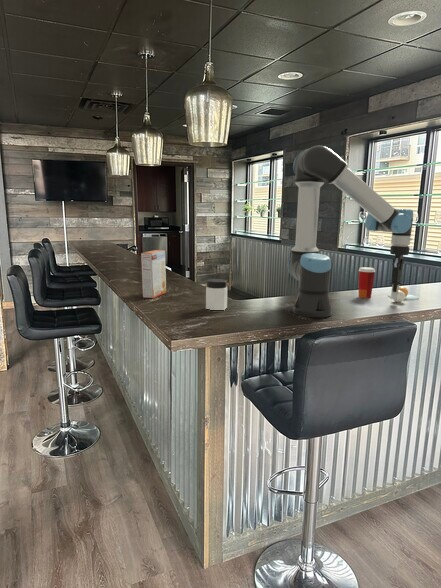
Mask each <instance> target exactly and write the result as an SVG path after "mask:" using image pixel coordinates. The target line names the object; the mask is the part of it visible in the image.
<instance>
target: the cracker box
mask: <svg viewBox="0 0 441 588" xmlns="http://www.w3.org/2000/svg"><path fill="white" fill-rule="evenodd" d="M140 258H141V259H140V261H141V262H140V263H141V285H142V298H143V299H155V298H157V297H159V296H162V295H164V294H166V293H167V279H166V278H167V274H166V272H167V271H166V250H165V249H164V250H162V249H161V250H160V249H154V250H149V251H144V252H141V253H140Z"/></svg>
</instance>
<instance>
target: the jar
mask: <svg viewBox="0 0 441 588" xmlns="http://www.w3.org/2000/svg"><path fill="white" fill-rule="evenodd" d="M227 281H228V280H227V279H223V278H211V279H210V278H209V279H207V280H206V288H205V310H206V309H210V310H224V311H225V309H226V308H227V309H228V286H227V285H228V284H227V283H228V282H227ZM227 309H226V310H227ZM210 310H209V311H210Z"/></svg>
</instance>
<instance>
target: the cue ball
mask: <svg viewBox="0 0 441 588" xmlns="http://www.w3.org/2000/svg"><path fill="white" fill-rule="evenodd" d="M404 299H405V294H404V292H402V291H400V290H399V293H398V299H392V300H393V301H394V303H403V302H404V301H405V300H404Z"/></svg>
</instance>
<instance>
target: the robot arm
mask: <svg viewBox="0 0 441 588" xmlns="http://www.w3.org/2000/svg"><path fill="white" fill-rule="evenodd" d="M292 169H293V172H294V174H295V181H294V183H295V185H296V186H297V188H298V193H297V209H296V210H297V213H296V228H295V244H294V246H293V247H292V248H291V251H290V258H289V259H288V262H287V270H288V273H289V274H290V276H291V277H292V278H293V279H294V280H296V281H298V282H299V283H298V284H299V286H298V294H297V297H296V299H295V302H294V304H293V311H292V312H293V314H295V315H298V316H301V317H305V318H306V317H307V318H327V317H331V316H332V315H333V306H332V303H331V299H330V296H329V295H330V294H329V293H330V281H331V268H332V261H331V260H332V259H331V258H330V256H328V255H326V254H324V253H323V254H322V253H320V249H319V248H318V247H317V235H318V225H319V223H318V221H319V220H318V219H319V210H320V209H319V205H320V195H321V194H320V192H321V187H323V185H324V184H325V182H326V183H327V184H329V185H331V184H333V185H335V186H336V188H338V189H339V190H340V191H342V192H343V194H345V195H346V196H348V197H349V199H351V200H352V201H353V202H354V203H356V204H357V205H358V206H360V207H361V208H362V209H363V210H364V211H365V212H367V213H368V214H367V215H366V217H365V224H364V225H365V228H366V231H369V232H370V231H371V232H383V233H385V232H386V233H392V234H391V239H390V244H391V245H390V250H389V254H391V255H394V258H392V259H393V260H392V265H391V266H392V270H391V271H392V273H391V281H390V285H391V293H390V294H391V298H390V299H391V300H393V299H398V293H399V287H400V285H402V283H403V282H402V275H403V267H404V263H405V259H404V256H408V255H410V245H411V241H412V240H413V238H412V229H413V221H414V210H413V209H411V208H409V209H408V208H406V209H405V208H395V207H393V206H392V205H391V204H390V203H389V202H388V201H387V200H386V199H384V198H383V197H382V195H380V194H378V192H376V191H375V190H374V189H373V188H372V187H371V186H369V184H367V183H366V182H365V181H364V180H362V179H361V178H360V177H359V176H358V175H357V174H355V172H353V171H352V170H351V169H350V167H349V168H348V163H347V162H346V161H345V160H344V159H343V158H342V157H340V156H339V155H338V154H337V153H336V152H334V151H333V150H332V149H331V148H328V147H327V146H325V145H319V144H318V145H314V146H311V147H310V148H307V149H304V150H301V152H299V153H298V154H297V156H296V157H295V158H294V161H293V165H292Z"/></svg>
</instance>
